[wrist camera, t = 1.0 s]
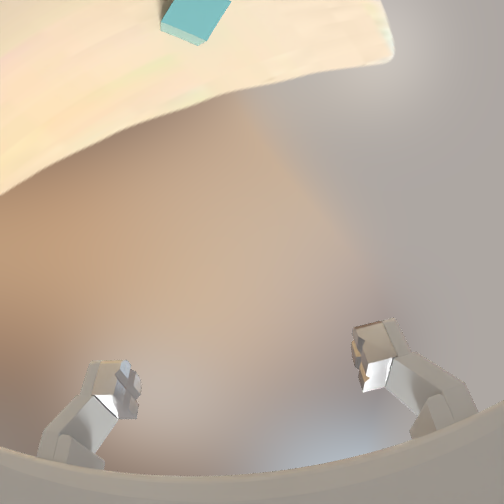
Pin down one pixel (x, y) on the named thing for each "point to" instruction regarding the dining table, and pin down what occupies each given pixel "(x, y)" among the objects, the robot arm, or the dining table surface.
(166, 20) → the teal rectangular block
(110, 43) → the dining table surface
